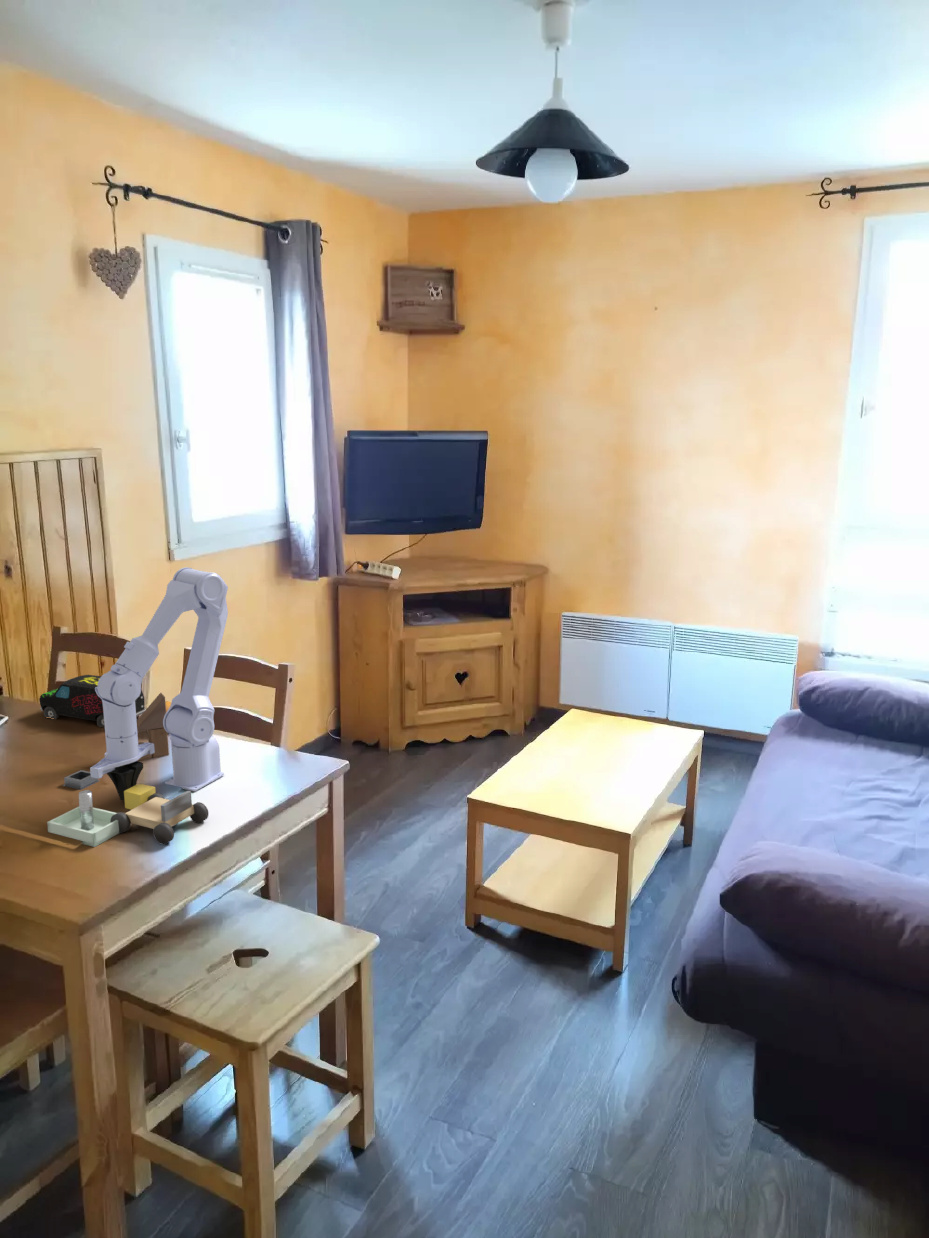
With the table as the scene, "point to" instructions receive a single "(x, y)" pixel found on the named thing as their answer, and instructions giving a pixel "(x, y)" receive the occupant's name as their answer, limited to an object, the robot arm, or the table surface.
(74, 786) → the pin socket
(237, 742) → the table surface
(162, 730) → the wooden block
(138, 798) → the yellow cube
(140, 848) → the table surface
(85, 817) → the pin
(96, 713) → the toy van
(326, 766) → the table surface
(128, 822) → the trolley
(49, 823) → the tray
